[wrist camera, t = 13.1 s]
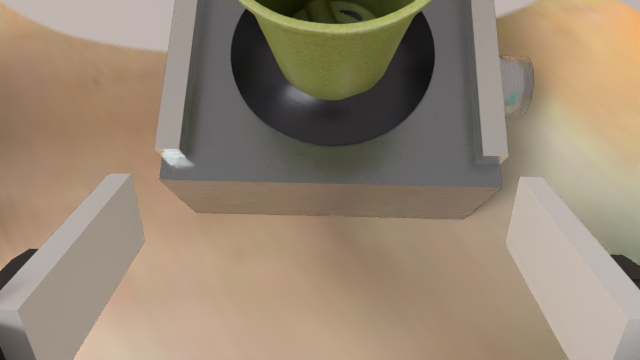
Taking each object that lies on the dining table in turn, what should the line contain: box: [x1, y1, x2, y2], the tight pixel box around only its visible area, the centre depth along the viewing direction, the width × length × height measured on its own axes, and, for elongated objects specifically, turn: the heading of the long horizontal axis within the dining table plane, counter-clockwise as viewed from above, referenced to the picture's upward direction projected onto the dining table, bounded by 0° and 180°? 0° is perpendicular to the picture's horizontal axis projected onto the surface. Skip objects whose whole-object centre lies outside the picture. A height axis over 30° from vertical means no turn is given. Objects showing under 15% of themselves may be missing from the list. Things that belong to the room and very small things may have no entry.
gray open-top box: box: [154, 0, 534, 219], centre depth 29 cm, size 20×15×8 cm
